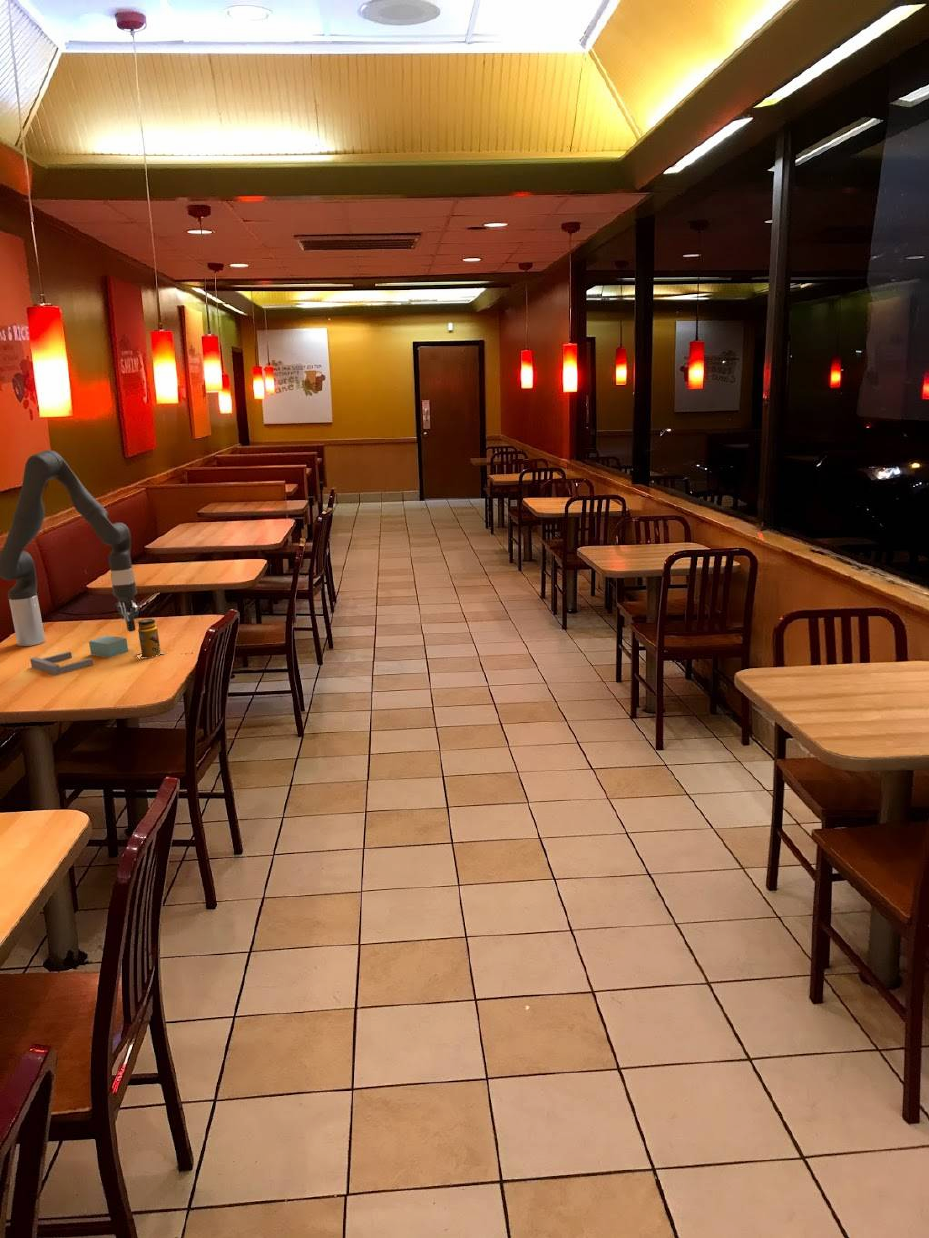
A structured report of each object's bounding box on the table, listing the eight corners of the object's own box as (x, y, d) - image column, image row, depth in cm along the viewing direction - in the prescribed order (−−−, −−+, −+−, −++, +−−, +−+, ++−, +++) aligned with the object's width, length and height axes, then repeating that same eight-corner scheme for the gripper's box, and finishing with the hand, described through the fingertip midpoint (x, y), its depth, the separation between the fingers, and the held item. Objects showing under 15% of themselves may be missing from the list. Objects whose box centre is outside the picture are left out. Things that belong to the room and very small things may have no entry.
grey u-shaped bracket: (31, 667, 304) (30, 658, 303) (70, 657, 313) (68, 648, 312) (54, 675, 293) (52, 666, 292) (93, 664, 302) (92, 655, 301)
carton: (91, 655, 314) (88, 641, 313) (109, 649, 320) (107, 635, 319) (109, 658, 309) (107, 644, 308) (128, 652, 315) (126, 638, 314)
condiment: (164, 654, 308) (159, 620, 305) (138, 660, 304) (133, 625, 301) (158, 650, 314) (153, 616, 311) (133, 655, 310) (127, 621, 307)
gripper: (103, 582, 317) (112, 631, 321) (122, 585, 308) (131, 635, 312) (124, 578, 322) (132, 626, 326) (143, 581, 313) (151, 630, 318)
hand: (131, 630), depth 319 cm, fingers closed
